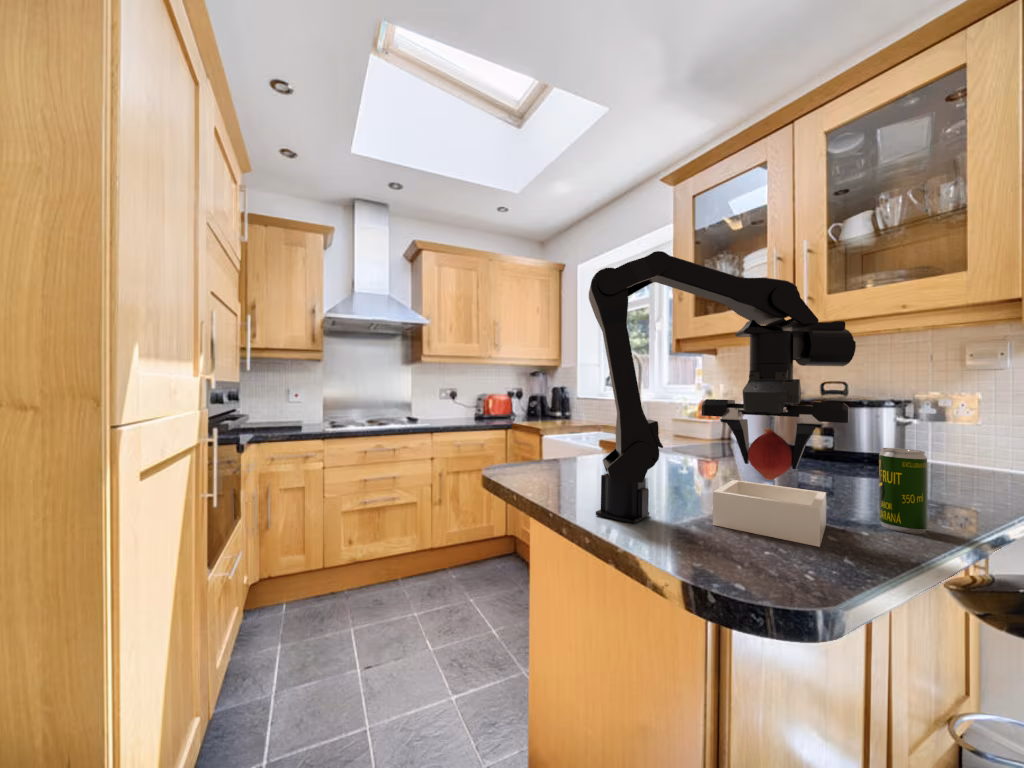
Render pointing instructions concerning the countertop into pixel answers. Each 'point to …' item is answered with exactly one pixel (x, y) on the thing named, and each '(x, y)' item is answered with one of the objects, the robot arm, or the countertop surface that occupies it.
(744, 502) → the bin
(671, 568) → the countertop surface
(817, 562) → the countertop surface
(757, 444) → the onion
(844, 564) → the countertop surface
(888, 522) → the green soda can
